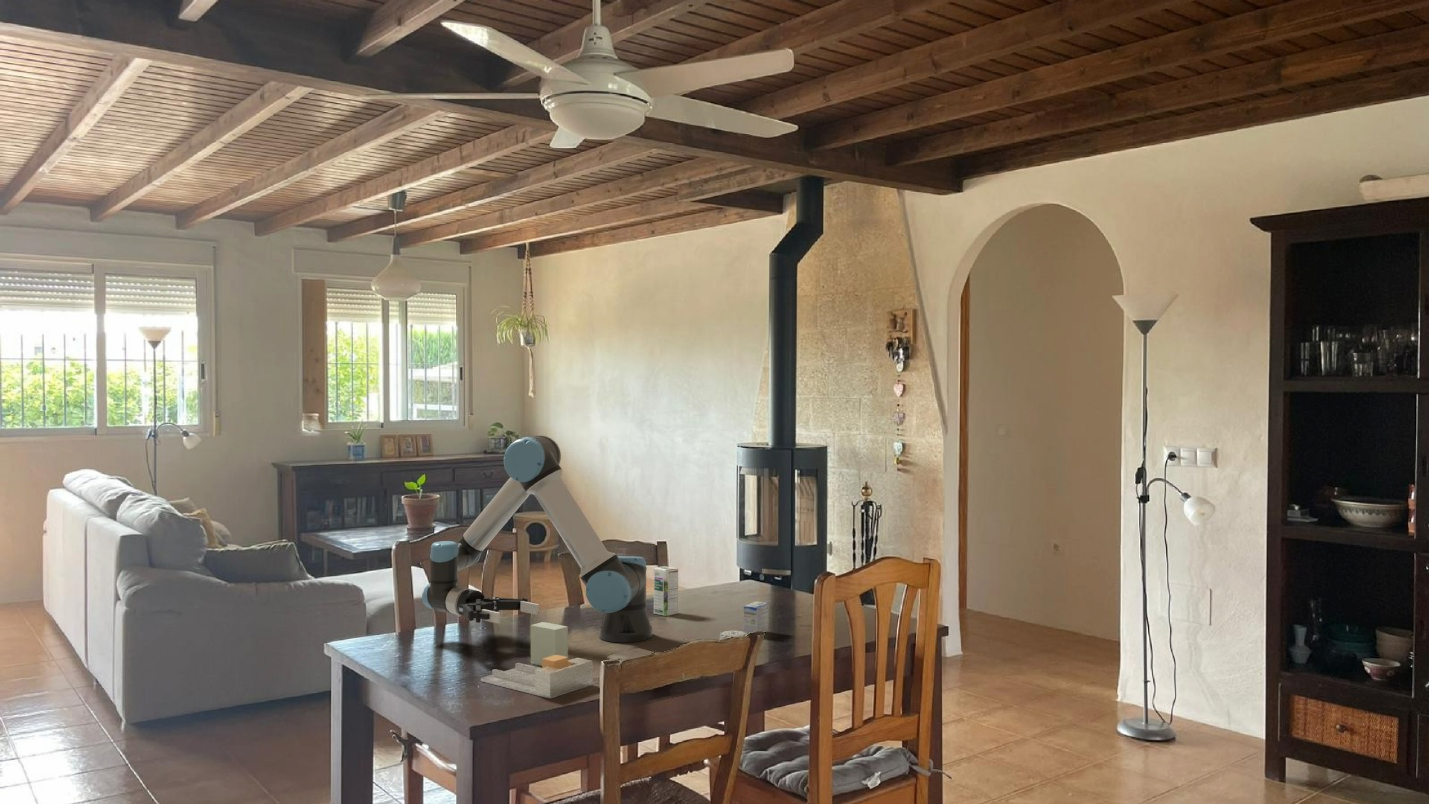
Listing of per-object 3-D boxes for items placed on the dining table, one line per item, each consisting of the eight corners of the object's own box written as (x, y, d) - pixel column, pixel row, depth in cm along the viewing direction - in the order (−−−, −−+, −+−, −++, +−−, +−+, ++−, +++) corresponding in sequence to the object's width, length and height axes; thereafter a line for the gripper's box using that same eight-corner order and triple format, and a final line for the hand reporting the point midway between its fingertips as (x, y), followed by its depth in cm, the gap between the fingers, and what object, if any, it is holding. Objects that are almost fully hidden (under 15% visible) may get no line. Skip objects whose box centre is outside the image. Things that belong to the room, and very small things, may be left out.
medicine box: (755, 630, 310) (755, 600, 310) (768, 632, 308) (768, 602, 308) (743, 636, 303) (743, 605, 303) (757, 637, 301) (757, 607, 301)
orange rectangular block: (556, 679, 255) (556, 654, 255) (568, 682, 252) (568, 657, 252) (542, 683, 251) (542, 658, 251) (554, 686, 249) (554, 661, 249)
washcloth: (636, 656, 282) (636, 644, 282) (685, 668, 270) (684, 656, 270) (603, 665, 274) (603, 653, 273) (652, 678, 262) (651, 665, 262)
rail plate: (523, 668, 268) (523, 646, 268) (592, 684, 254) (592, 660, 254) (480, 681, 257) (480, 657, 257) (550, 698, 243) (550, 673, 243)
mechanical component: (752, 653, 284) (750, 644, 294) (752, 637, 284) (750, 628, 294) (715, 654, 284) (714, 644, 294) (715, 637, 284) (714, 628, 294)
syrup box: (652, 613, 332) (652, 567, 332) (666, 611, 336) (666, 565, 336) (665, 616, 328) (665, 570, 328) (679, 613, 333) (679, 567, 332)
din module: (543, 659, 277) (543, 621, 277) (567, 665, 272) (567, 626, 272) (530, 663, 274) (530, 625, 274) (555, 669, 268) (555, 629, 268)
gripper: (500, 608, 302) (553, 619, 289) (429, 624, 282) (482, 636, 269) (501, 582, 302) (553, 592, 289) (429, 596, 282) (482, 607, 269)
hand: (519, 613), depth 279 cm, fingers open, 13 cm apart
